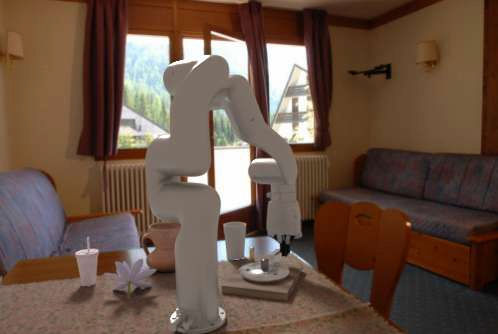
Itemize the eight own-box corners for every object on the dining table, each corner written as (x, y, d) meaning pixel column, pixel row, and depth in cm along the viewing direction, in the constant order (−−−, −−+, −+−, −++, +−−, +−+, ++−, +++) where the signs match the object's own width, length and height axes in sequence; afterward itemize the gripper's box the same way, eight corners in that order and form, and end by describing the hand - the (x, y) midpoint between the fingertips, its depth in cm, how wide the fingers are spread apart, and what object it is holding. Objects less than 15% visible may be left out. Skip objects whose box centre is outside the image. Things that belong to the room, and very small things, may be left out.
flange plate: (278, 286, 97) (277, 270, 97) (232, 278, 104) (231, 263, 103) (300, 265, 113) (300, 251, 113) (259, 260, 120) (258, 246, 119)
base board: (287, 300, 94) (286, 293, 93) (221, 292, 99) (221, 285, 99) (302, 271, 114) (302, 265, 114) (247, 266, 120) (247, 260, 120)
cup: (246, 261, 125) (245, 226, 124) (223, 261, 125) (222, 227, 124) (247, 254, 133) (246, 221, 132) (225, 254, 133) (224, 222, 132)
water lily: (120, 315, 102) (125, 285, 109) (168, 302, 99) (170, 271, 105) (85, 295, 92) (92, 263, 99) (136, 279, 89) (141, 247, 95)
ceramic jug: (202, 262, 125) (200, 221, 124) (183, 277, 111) (182, 231, 110) (154, 259, 130) (153, 219, 129) (131, 273, 116) (129, 228, 115)
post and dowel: (270, 275, 106) (270, 256, 106) (263, 276, 105) (262, 257, 105) (253, 263, 117) (253, 246, 116) (246, 264, 116) (246, 247, 115)
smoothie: (91, 289, 104) (89, 240, 103) (71, 287, 105) (69, 239, 104) (104, 280, 110) (102, 234, 109) (85, 279, 111) (83, 233, 110)
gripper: (256, 198, 112) (258, 257, 113) (305, 199, 107) (306, 261, 108) (263, 194, 119) (265, 249, 120) (310, 195, 114) (311, 253, 115)
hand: (285, 255), depth 114 cm, fingers closed
